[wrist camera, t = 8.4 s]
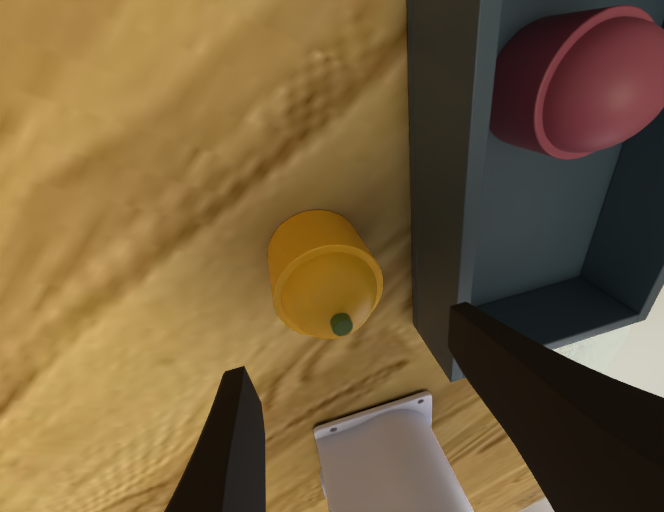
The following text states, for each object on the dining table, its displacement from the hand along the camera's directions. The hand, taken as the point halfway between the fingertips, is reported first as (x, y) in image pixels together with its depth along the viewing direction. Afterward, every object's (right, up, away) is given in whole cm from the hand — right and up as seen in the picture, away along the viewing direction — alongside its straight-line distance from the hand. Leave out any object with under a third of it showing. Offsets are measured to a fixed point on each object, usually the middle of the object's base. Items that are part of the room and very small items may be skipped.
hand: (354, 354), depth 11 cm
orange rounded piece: (-2, +4, +6) cm, 7 cm away
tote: (+9, +8, +6) cm, 14 cm away
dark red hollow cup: (+8, +11, +3) cm, 14 cm away
